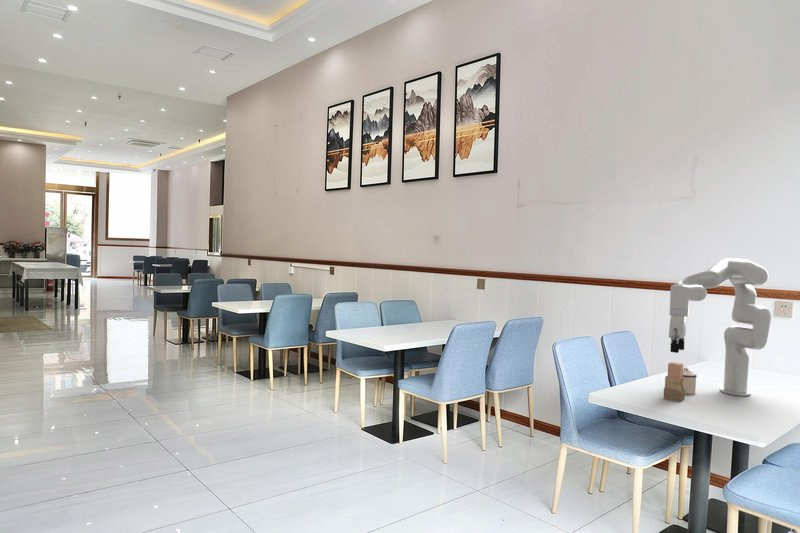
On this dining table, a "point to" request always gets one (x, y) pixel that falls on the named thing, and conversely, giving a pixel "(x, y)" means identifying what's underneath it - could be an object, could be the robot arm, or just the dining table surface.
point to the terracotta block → (675, 370)
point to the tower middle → (674, 383)
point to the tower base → (674, 394)
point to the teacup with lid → (689, 381)
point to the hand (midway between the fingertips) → (677, 350)
